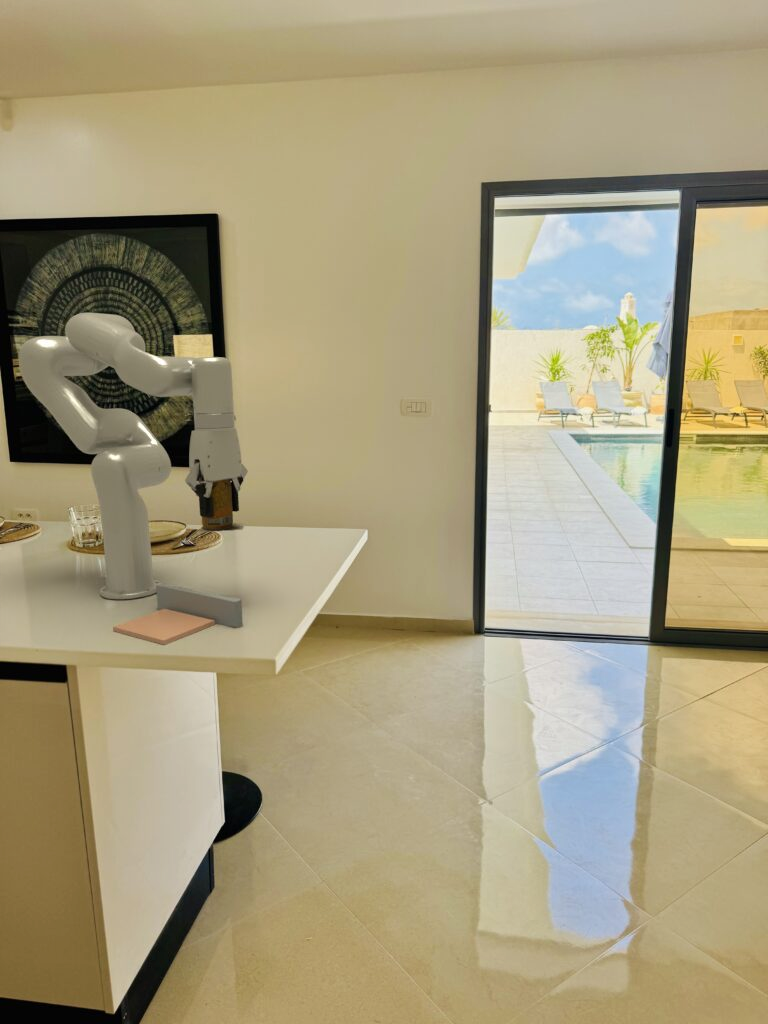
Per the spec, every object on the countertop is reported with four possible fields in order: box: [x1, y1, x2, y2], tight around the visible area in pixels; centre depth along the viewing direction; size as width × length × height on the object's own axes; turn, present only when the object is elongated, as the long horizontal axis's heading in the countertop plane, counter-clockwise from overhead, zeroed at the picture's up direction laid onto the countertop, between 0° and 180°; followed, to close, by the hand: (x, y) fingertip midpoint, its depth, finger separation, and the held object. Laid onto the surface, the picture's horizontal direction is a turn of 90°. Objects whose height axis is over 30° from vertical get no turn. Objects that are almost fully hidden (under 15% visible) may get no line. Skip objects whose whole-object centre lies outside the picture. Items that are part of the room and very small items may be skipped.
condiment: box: [197, 479, 246, 533], centre depth 142 cm, size 7×8×12 cm
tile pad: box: [112, 609, 216, 646], centre depth 134 cm, size 14×12×1 cm
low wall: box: [156, 583, 244, 629], centre depth 140 cm, size 22×2×5 cm, turn 57°
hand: (219, 512), depth 143 cm, fingers closed on condiment, 6 cm apart
